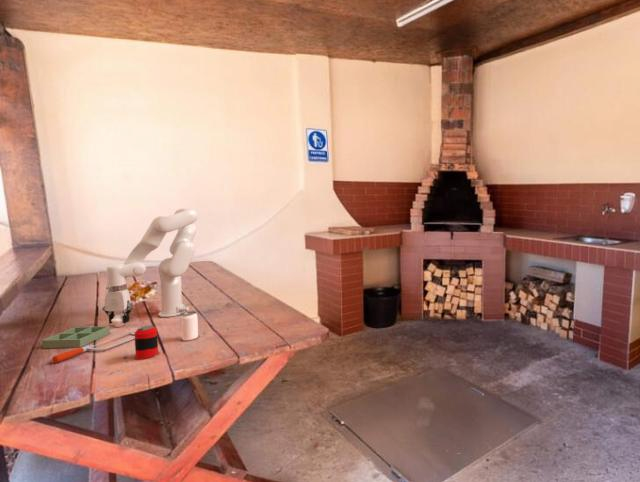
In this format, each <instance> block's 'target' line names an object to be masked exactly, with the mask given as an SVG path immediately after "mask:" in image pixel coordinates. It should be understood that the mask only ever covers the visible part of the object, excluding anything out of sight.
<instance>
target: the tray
mask: <svg viewBox="0 0 640 482" xmlns="http://www.w3.org/2000/svg"><path fill="white" fill-rule="evenodd" d="M110 329H111V328H110V325H105V326H103V325H102V326H101V325H100V326H74V327H72V328H69V329H66V330H64V331H62V332H59V333H57V334H54V335H52V336H49V337H47V338H45V339H42V340H41V345H42V349H62V348H63V349H65V348H67V349H68V348H82V347H84V346H87V345H89V344H90V343H92V342H94V341H97V340H99V339H101V338H103V337H106V336H107V335H109V334H110V333H111V331H110Z"/></svg>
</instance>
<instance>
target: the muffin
mask: <svg viewBox="0 0 640 482" xmlns="http://www.w3.org/2000/svg"><path fill="white" fill-rule="evenodd" d="M114 314H115V315H114V318H113V319H112V320H111V322H112V323H111V324H112V325H113V326H114V327H115V328H121V327H123V326H124V325H125V324H126V323H123V316H124V314H123V312H117V313H114Z"/></svg>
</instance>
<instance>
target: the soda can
mask: <svg viewBox="0 0 640 482" xmlns="http://www.w3.org/2000/svg"><path fill="white" fill-rule="evenodd" d="M134 333H135V335H134V337H135V339H134V348H135V350H134V351H135V358H136V360H147V359H151V358H154V357H155V356H157V355H158V354H159V343H158V341H159V340H158V328H157V327H156V326H154V325H144V326H141V327H139V328H137V329H136V330H135V332H134Z"/></svg>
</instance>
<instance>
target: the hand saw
mask: <svg viewBox="0 0 640 482" xmlns="http://www.w3.org/2000/svg"><path fill="white" fill-rule="evenodd" d="M127 335H132V336H133V337H130V338H127V339H124V340H122V341H121V340H120V341H118V342H116V343H113V344H111V345H108V346H105V347H99V348H98V347H96V346H100V345H102V344H105V343H107V342H111V341H114V340H115V339H119V338H121V337H124V336H127ZM133 340H135V332H133V331H130V332H128V333H126V334H123V335H120V336H118V337H115V338H112V339H109V340H106V341H103V342H101V343H98V344H95V345H94V344H91V345H89V344H86V345H84V346H82V347H77V348H73V349H71V350H67V351H64V352H61V353H57V354H55V355H54V356H52V359H51V361H52V362H53V363H54V364H57V363H61V362H64V361H66V360H69V359H71V358H74V357H77V356H78V355H81V354H83V353H86V352H88V351H93V352H95V351H96V352H97V351H105V350H108V349H111V348H114V347H117V346H119V345H122V344H125V343H127V342H130V341H133Z"/></svg>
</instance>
